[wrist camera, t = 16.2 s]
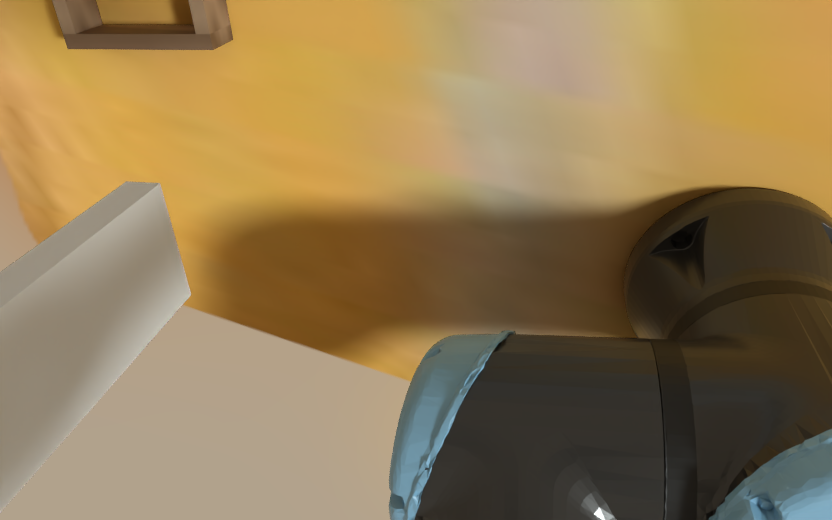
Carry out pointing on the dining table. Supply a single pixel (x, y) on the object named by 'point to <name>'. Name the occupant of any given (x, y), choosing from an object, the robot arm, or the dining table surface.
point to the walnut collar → (144, 28)
